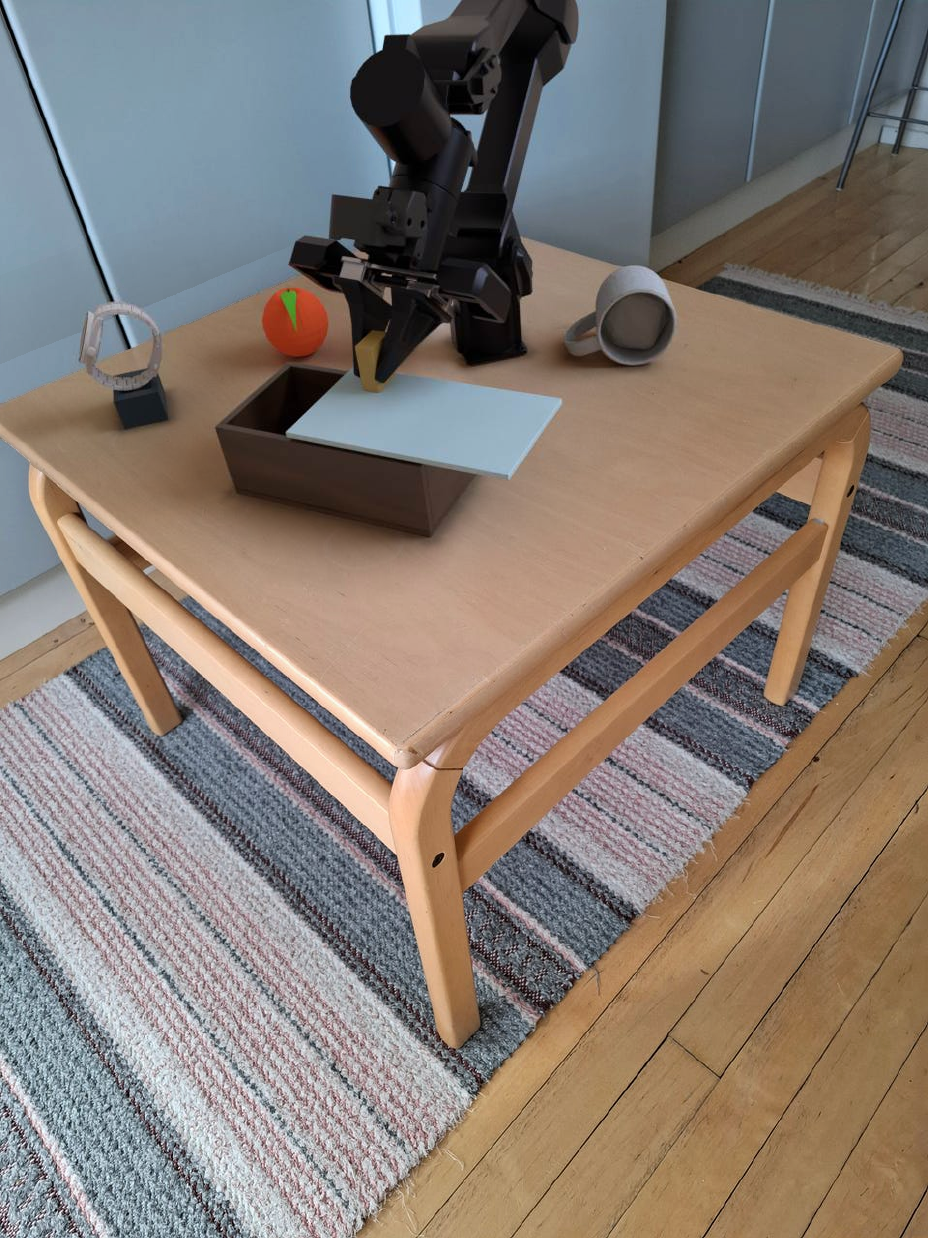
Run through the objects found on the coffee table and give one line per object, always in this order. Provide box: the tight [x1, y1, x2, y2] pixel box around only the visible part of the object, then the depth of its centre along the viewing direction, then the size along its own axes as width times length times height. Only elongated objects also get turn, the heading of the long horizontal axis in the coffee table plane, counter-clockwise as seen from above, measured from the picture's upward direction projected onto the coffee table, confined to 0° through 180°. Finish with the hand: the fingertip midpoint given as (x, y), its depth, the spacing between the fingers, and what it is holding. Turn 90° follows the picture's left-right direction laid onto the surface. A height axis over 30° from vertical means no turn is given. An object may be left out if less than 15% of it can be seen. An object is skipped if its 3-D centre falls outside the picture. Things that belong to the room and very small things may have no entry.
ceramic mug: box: [563, 264, 678, 366], centre depth 90 cm, size 11×8×8 cm
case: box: [214, 361, 478, 538], centre depth 78 cm, size 11×19×7 cm, turn 65°
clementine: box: [261, 286, 329, 358], centre depth 95 cm, size 8×7×7 cm
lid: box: [286, 330, 563, 481], centre depth 71 cm, size 11×19×4 cm, turn 65°
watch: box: [78, 301, 169, 430], centre depth 88 cm, size 6×8×11 cm
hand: (368, 379), depth 75 cm, fingers closed on lid, 2 cm apart
